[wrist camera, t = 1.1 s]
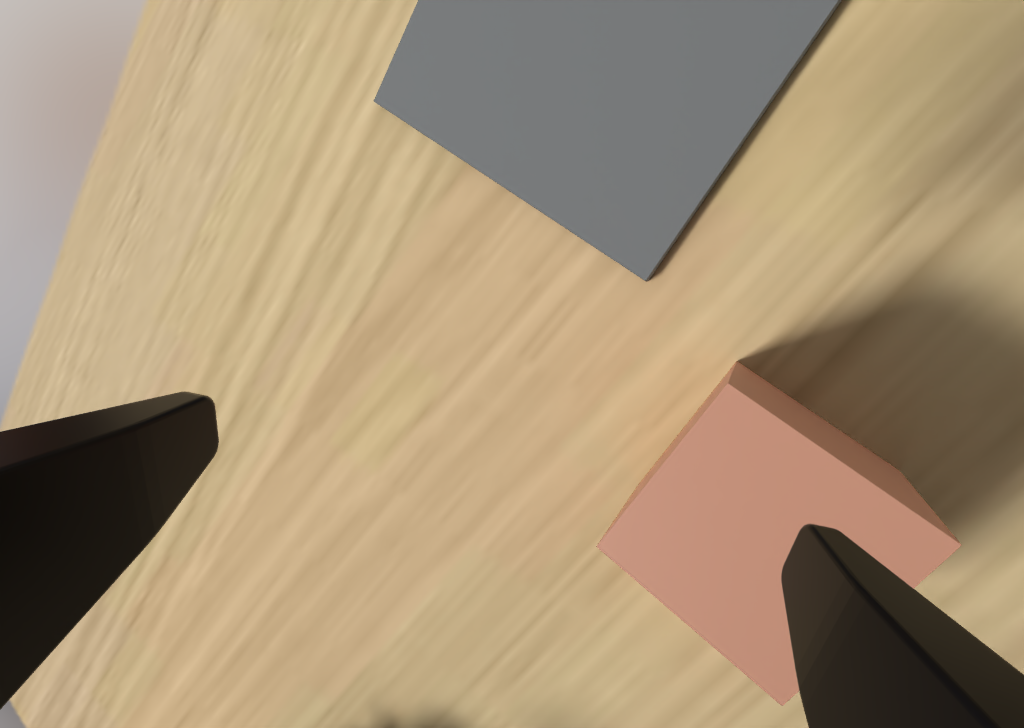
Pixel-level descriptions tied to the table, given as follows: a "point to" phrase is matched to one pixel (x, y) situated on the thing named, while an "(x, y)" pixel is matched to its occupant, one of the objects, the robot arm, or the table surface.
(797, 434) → the cube
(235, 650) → the table surface
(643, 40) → the mat
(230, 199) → the table surface
